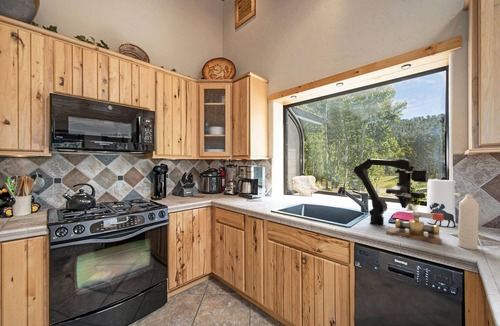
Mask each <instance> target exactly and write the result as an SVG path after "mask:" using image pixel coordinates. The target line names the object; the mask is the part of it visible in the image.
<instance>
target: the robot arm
mask: <svg viewBox="0 0 500 326" xmlns="http://www.w3.org/2000/svg"><path fill="white" fill-rule="evenodd" d="M372 166H381V167H382V166H383V167H392V168H396V170H395V171H394V173H395V174H398V182H396V185H394V186H392V187H391V188H386V189H385V193H386V194H387V195H394V197H396V198H397V199H398V201H399V203H400V206H401V208H402V209H406V208H407V207H408V205H409V204H410V202H411V201H412V199H417V200H419V199H425V198H426V194H425V192H419V191H413V190H412V189H411V188H412V185H413V183H414V182H415V183H426V184H428V182H429V173H428V170H427V169H423V170H422V169H421V170H420V169H416V168H415V166H414V165H413V162H412V161H411V160H410V159H406V158H405V159H403V158H402V159H390V160H389V159H379V158H378V159H374V158H367V159H366V160H365V161H363V162H361V163H360V164H359V165H355V166H354V168H353V173H355V175H356V176H357V178H359V179H360V180H361V183H362V184H363V186H364V188H365V191H366V192H367V194H368V196H369V198H370V199H371V207H372V208H371V209H370V210H369V211H368V213H369V215H370V223H369V225H374V226H380V227H382V226H383V225H384V224H385V223H384V222H385V218H384V216H383V215H384V213H385V212H386V211H388V204H387V202H386V200H385V199H381V198H380V196H379V195H378V193H377V191H376V189H375V187H374V185H373V183H372V181H371V179H370V177H369V171H368V170H370V168H372ZM412 181H413V183H412Z"/></svg>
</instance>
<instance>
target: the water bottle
mask: <svg viewBox="0 0 500 326" xmlns="http://www.w3.org/2000/svg"><path fill="white" fill-rule="evenodd" d="M452 195H453V196H457V197H458V196H459V197H460V196H461V193H459V192H458V193H457V192H453V193H452ZM458 204H459V205H458V225H457V226H458V228H457V230H458V232H457V234H458V235H457V238H458V240H457V245H458V246H459V247H461V248H464V249H466V250H472V251H473V250H478V243H479V242H478V238H479V235H478V234H479V232H478V231H479V214H480V213H479V210H480V206H479V203H478V202H477V201H476V200H475V199H474V196H473V194H469V193H466V194H465V196H464V198H463V199H462V200H461V201H459V203H458Z"/></svg>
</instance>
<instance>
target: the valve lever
mask: <svg viewBox="0 0 500 326" xmlns="http://www.w3.org/2000/svg"><path fill="white" fill-rule="evenodd" d="M412 217H413V218H414V217H419V218H423V219H430V220H433V221H441V222H443V221H444V214H443V213H437V212H432V213H430V212H429V213H428V212H423V211H416V210H415V211H412Z"/></svg>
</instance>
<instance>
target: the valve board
mask: <svg viewBox="0 0 500 326" xmlns="http://www.w3.org/2000/svg"><path fill="white" fill-rule="evenodd" d="M385 234H386V235H389V236H394V235H395V236H394V237H399V236H401V238H404V237H406V239H409V238H411V239H410V240H415V239H416V240H415V241H420V240H421V242H425V241H426V243H430V242H431V243H430V244H434V245H442V244H441V242H442V241H441V236H440V234H439V235H434V238H430V237H428V232H424V236H416V235H412V234H410V233H409V229H406V228H405V233H403V232H399V228H396V226H391V225H389V226H388V227H387V228H386V231H385Z"/></svg>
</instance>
